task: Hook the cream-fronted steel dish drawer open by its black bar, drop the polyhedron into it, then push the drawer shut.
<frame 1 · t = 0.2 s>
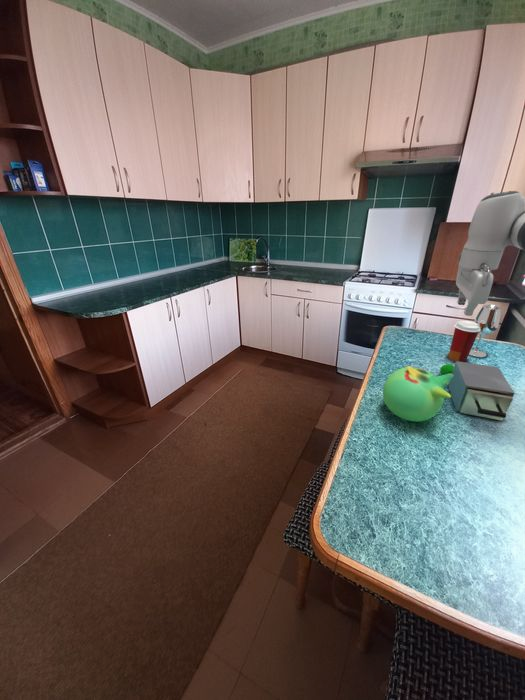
hand: (463, 309, 84), 28 cm above the table, tool pointing down, fingers open, 8 cm apart
polyhedron: (445, 377, 104), on the table
grey drawer cabinet: (472, 401, 92), on the table
toy bird: (409, 413, 87), on the table
dish drawer: (481, 397, 85), point 5 cm above the table, slide at 0.5 cm
coffee cup: (456, 359, 115), on the table
wineglass: (475, 353, 119), on the table
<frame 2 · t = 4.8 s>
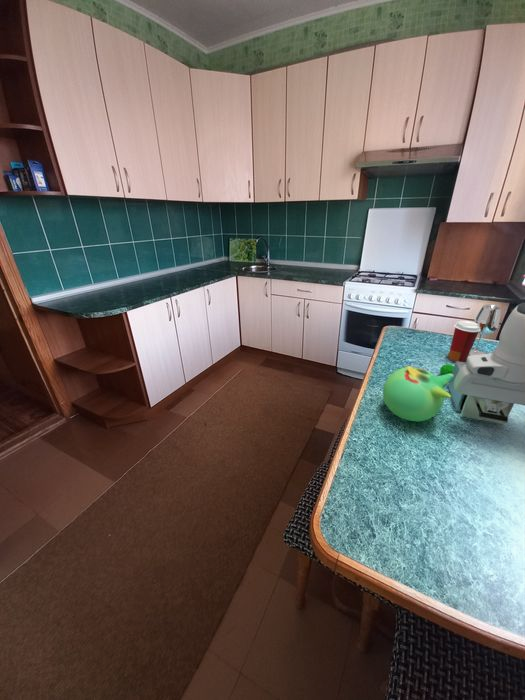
hand: (490, 411, 78), 6 cm above the table, tool pointing down, fingers closed
dish drawer: (483, 400, 84), point 5 cm above the table, slide at 2.0 cm
everything else where it was.
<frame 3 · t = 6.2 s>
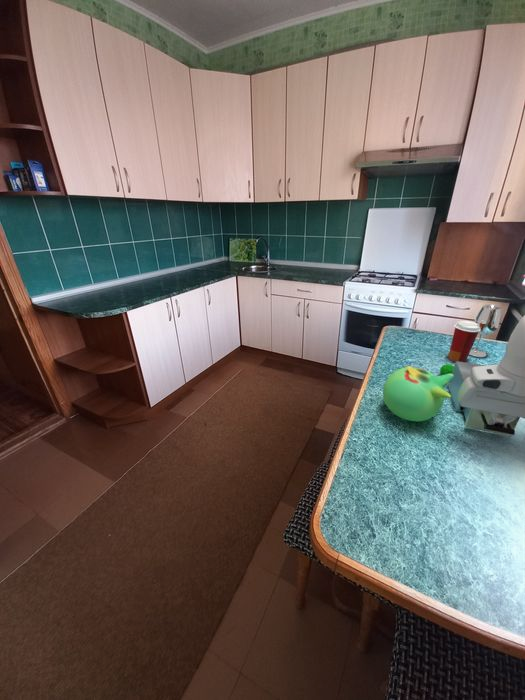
hand: (496, 425, 74), 6 cm above the table, tool pointing down, fingers closed
dish drawer: (488, 411, 80), point 5 cm above the table, slide at 7.0 cm
everything else where it was.
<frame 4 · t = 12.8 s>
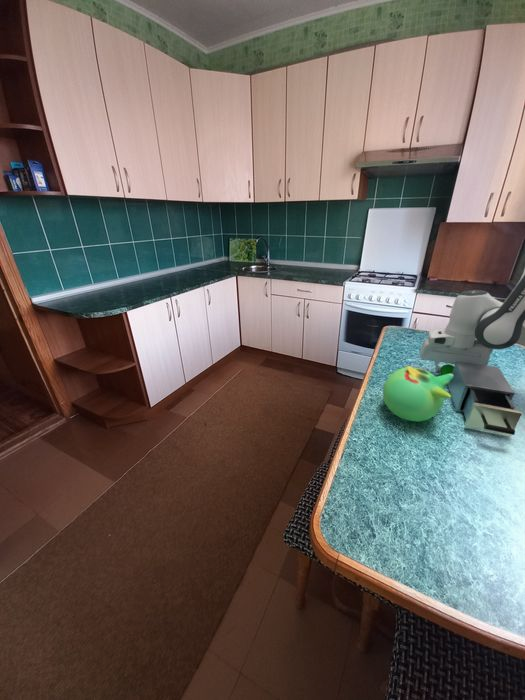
hand: (447, 373, 103), 2 cm above the table, tool pointing down, fingers closed on polyhedron, 5 cm apart
polyhedron: (446, 377, 104), on the table, touching gripper
everything else where it was.
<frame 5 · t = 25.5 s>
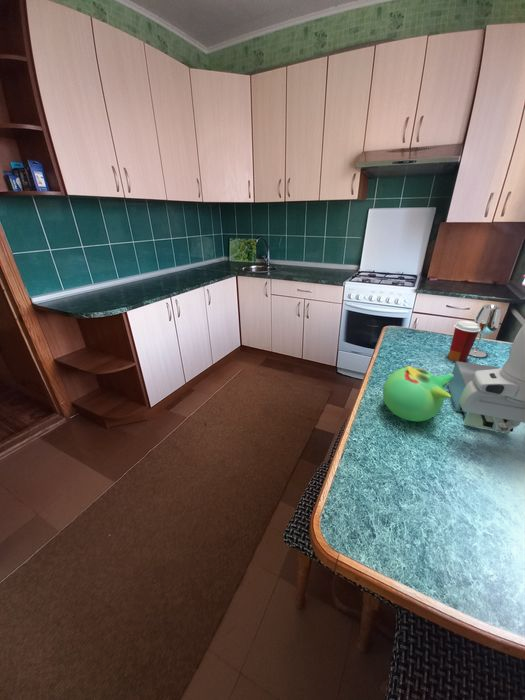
hand: (499, 430, 72), 6 cm above the table, tool pointing down, fingers closed, pressing on dish drawer
polyhedron: (482, 414, 83), point 2 cm above the table, touching dish drawer
dish drawer: (486, 408, 81), point 5 cm above the table, slide at 5.8 cm, touching gripper, polyhedron
everything else where it was.
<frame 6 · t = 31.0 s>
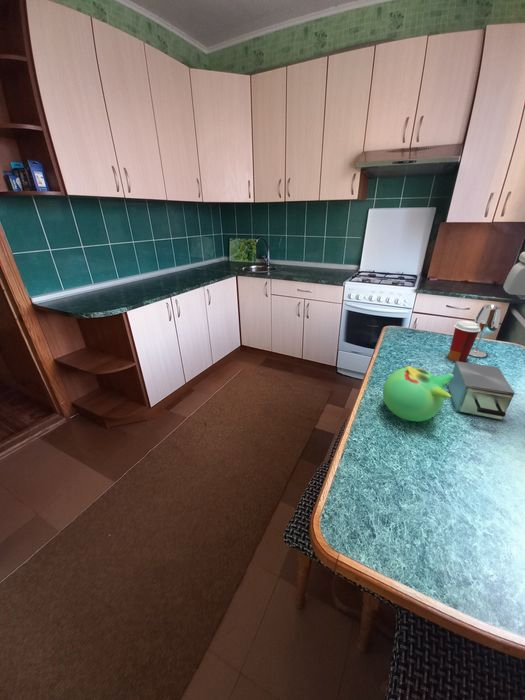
polyhedron: (477, 402, 88), point 2 cm above the table, touching dish drawer
dish drawer: (481, 396, 86), point 5 cm above the table, slide at 0.0 cm, touching polyhedron
everything else where it was.
at the end: dish drawer pulled out 7.0 cm at the most during the clip, back to where it started at the end; polyhedron inside the target area in the grey drawer cabinet (3.4 cm from its centre), point 1.8 cm above the grey drawer cabinet's base; dish drawer slide at 0.0 cm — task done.
